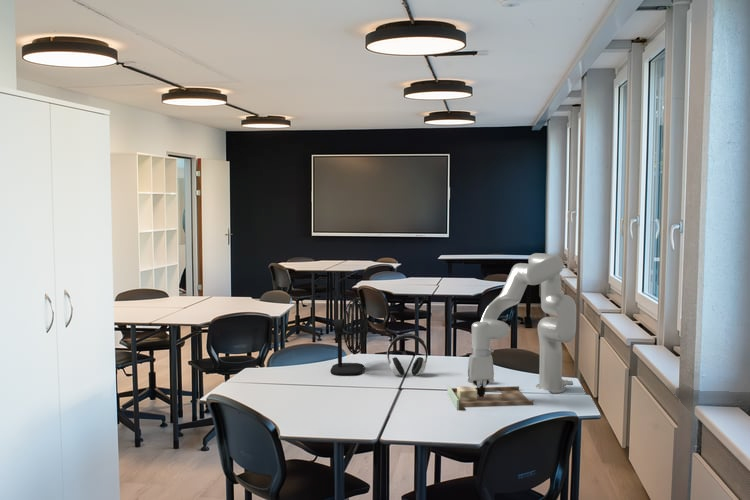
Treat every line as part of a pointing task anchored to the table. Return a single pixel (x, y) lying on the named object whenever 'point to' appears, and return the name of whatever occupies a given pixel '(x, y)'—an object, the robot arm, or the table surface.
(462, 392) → the block
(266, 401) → the table surface
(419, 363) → the headphones
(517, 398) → the box
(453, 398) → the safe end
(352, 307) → the desk fan
